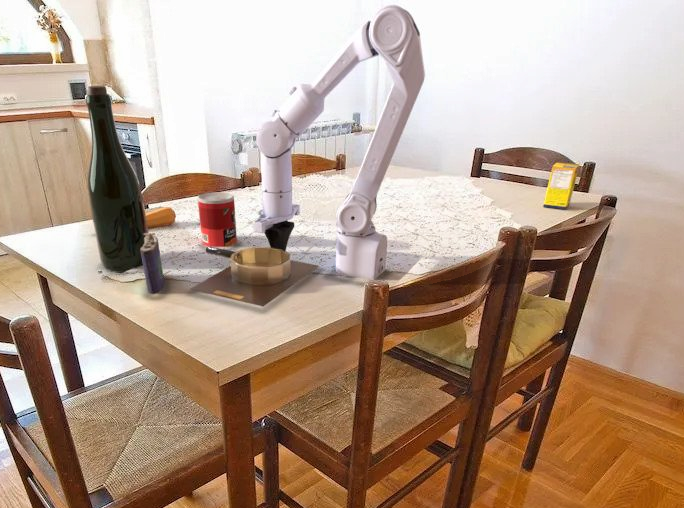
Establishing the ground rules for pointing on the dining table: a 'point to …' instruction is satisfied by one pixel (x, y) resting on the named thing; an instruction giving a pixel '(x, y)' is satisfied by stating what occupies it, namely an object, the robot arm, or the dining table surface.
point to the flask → (152, 264)
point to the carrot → (160, 217)
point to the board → (252, 294)
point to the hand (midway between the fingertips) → (278, 258)
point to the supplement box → (561, 185)
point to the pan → (257, 264)
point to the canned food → (217, 219)
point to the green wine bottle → (113, 190)
